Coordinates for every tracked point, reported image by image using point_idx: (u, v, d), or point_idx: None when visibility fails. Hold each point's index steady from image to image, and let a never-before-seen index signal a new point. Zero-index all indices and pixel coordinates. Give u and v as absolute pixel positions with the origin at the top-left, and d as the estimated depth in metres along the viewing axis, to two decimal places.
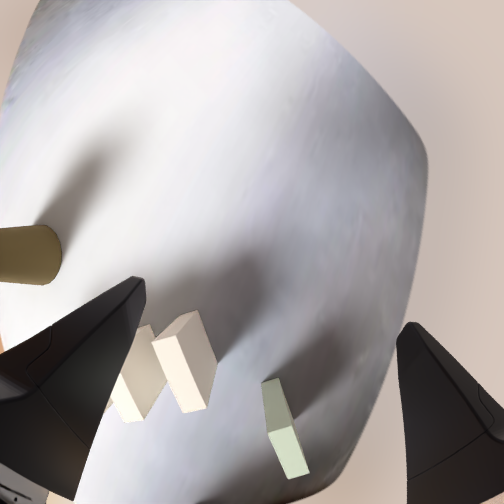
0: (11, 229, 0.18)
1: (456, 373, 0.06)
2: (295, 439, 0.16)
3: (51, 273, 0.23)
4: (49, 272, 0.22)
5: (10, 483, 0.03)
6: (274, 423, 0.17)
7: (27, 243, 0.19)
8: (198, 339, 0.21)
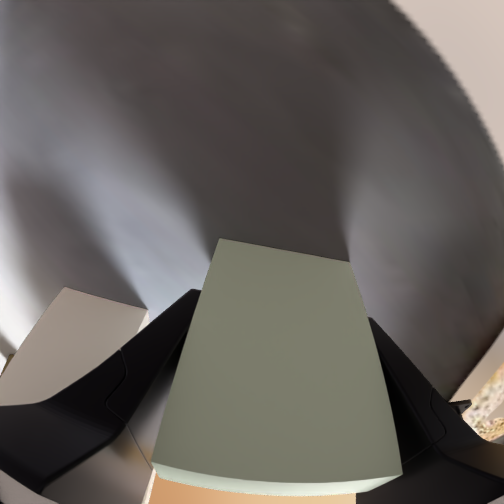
0: None
1: (406, 374, 0.06)
2: (217, 479, 0.04)
3: None
4: None
5: None
6: None
7: None
8: (58, 340, 0.10)
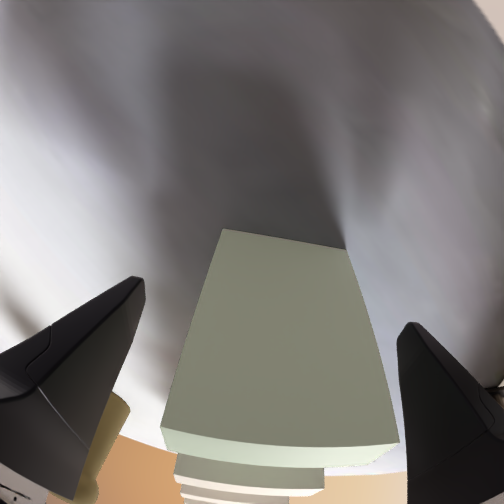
0: None
1: (456, 373, 0.06)
2: (223, 442, 0.05)
3: (116, 406, 0.20)
4: (114, 408, 0.19)
5: (9, 483, 0.03)
6: None
7: None
8: None
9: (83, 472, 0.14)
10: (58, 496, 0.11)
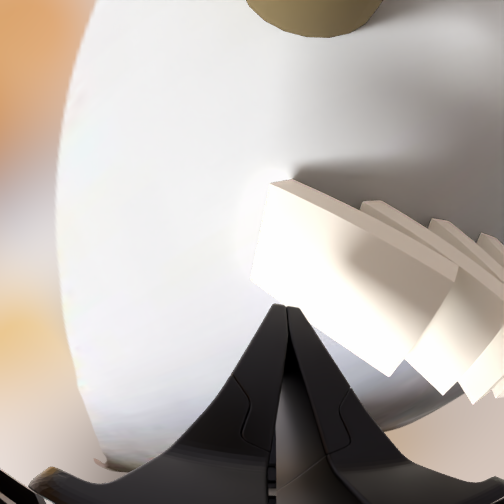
0: None
1: (318, 370, 0.06)
2: None
3: (346, 28, 0.08)
4: (349, 26, 0.08)
5: None
6: None
7: None
8: None
9: None
10: None
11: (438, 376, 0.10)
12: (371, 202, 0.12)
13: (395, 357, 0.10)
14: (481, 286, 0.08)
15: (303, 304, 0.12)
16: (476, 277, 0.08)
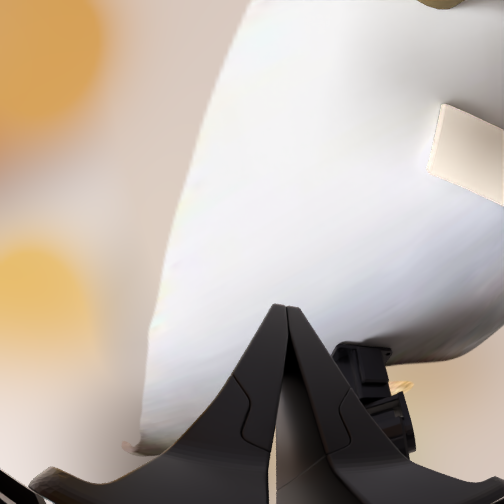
0: None
1: (318, 370, 0.06)
2: None
3: (450, 5, 0.10)
4: (453, 4, 0.10)
5: None
6: None
7: None
8: None
9: None
10: None
11: None
12: (492, 124, 0.14)
13: None
14: None
15: (470, 180, 0.15)
16: None
